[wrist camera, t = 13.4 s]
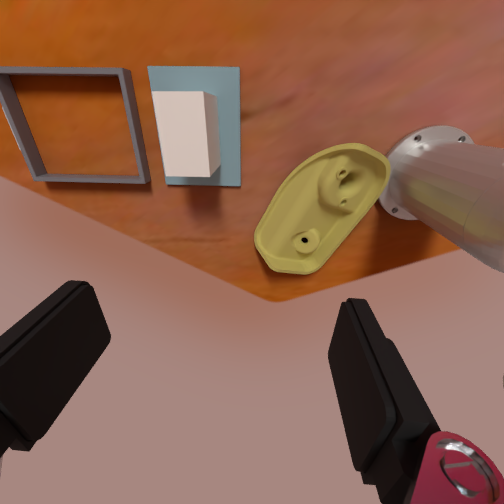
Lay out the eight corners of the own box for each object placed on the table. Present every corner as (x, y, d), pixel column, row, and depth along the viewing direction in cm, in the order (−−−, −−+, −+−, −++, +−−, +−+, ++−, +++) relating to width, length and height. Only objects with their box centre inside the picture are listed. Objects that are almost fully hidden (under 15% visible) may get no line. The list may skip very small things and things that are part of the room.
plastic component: (314, 275, 41) (266, 270, 35) (294, 246, 46) (250, 238, 40) (404, 167, 30) (355, 138, 25) (366, 145, 35) (318, 116, 30)
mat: (239, 67, 29) (239, 67, 29) (240, 185, 36) (240, 186, 36) (149, 66, 29) (147, 65, 29) (167, 183, 36) (166, 184, 36)
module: (217, 96, 30) (203, 91, 23) (220, 164, 34) (209, 176, 27) (177, 96, 30) (151, 91, 23) (185, 163, 34) (165, 176, 27)
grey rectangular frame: (130, 70, 30) (122, 67, 28) (150, 180, 36) (145, 183, 34) (-2, 69, 30) (-18, 66, 28) (42, 177, 37) (31, 180, 35)
